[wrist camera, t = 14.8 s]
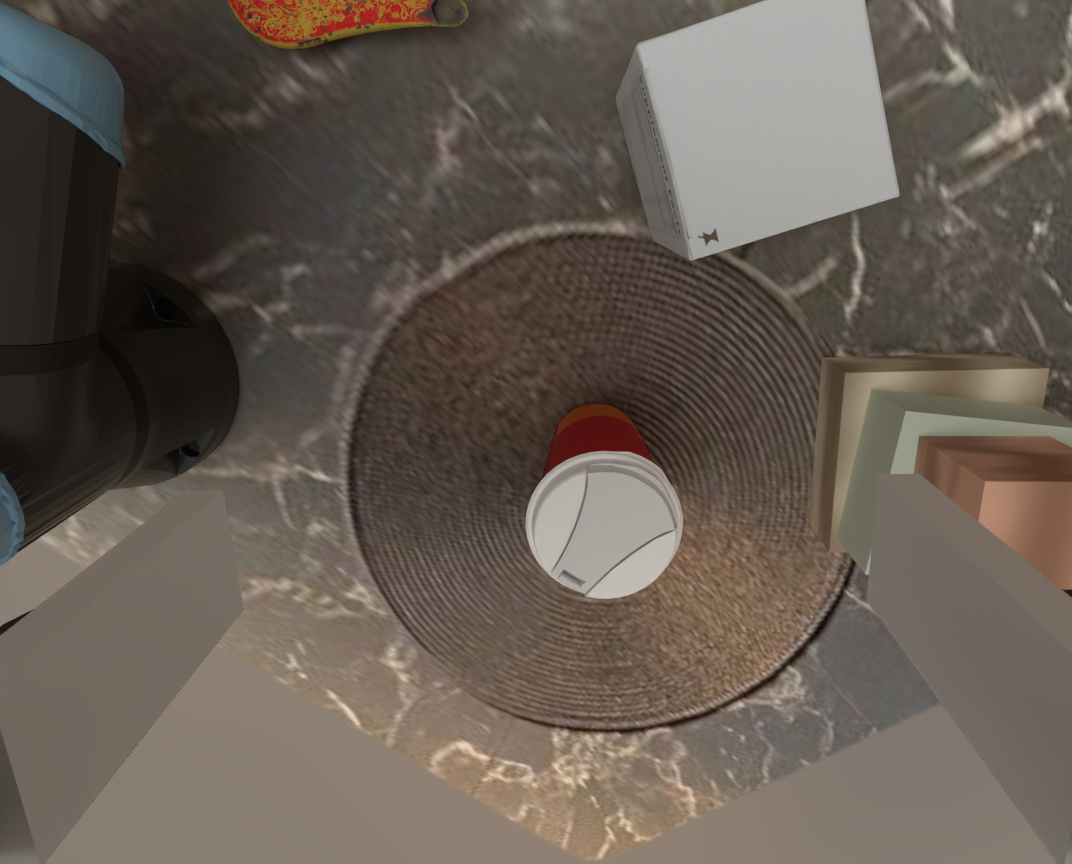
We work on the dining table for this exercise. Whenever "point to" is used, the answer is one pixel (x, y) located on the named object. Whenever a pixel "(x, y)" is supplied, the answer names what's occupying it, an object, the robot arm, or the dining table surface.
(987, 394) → the tower base
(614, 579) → the coffee cup
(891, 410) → the tower top
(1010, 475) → the terracotta cube
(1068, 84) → the dining table surface
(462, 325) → the dining table surface
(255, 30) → the magic lamp
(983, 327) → the dining table surface
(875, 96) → the supplement box
